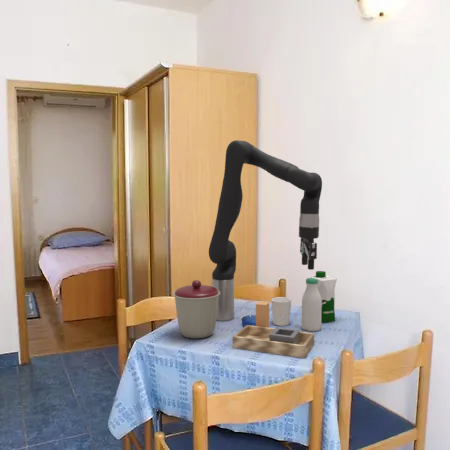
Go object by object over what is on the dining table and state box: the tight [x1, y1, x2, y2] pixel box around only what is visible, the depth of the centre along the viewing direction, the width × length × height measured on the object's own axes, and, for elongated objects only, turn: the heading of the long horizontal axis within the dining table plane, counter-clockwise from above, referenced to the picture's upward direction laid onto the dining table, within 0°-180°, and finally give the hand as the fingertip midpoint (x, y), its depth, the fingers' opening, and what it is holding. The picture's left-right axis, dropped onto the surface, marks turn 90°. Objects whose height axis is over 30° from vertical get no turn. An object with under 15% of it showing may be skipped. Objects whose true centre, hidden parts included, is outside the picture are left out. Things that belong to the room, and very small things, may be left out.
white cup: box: [271, 296, 292, 327], centre depth 195 cm, size 8×8×10 cm
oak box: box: [232, 324, 315, 359], centre depth 170 cm, size 26×14×4 cm, turn 67°
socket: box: [269, 326, 301, 345], centre depth 168 cm, size 9×9×5 cm
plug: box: [255, 300, 270, 328], centre depth 183 cm, size 4×4×12 cm
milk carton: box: [310, 270, 338, 324], centre depth 199 cm, size 9×9×20 cm
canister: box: [172, 279, 220, 339], centre depth 182 cm, size 18×18×21 cm
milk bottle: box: [301, 277, 322, 332], centre depth 188 cm, size 8×8×20 cm
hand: (307, 267), depth 184 cm, fingers open, 8 cm apart
